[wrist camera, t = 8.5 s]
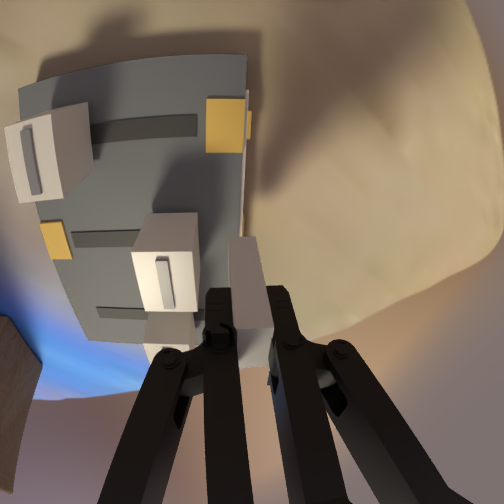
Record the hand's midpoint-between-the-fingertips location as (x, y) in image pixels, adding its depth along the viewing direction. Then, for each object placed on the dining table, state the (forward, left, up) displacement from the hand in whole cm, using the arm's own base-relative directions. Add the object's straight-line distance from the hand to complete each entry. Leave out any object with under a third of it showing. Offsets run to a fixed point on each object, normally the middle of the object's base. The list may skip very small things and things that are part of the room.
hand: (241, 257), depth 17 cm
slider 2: (-4, 0, -2) cm, 4 cm away
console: (-7, 0, -4) cm, 8 cm away
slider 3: (-5, -7, -2) cm, 9 cm away
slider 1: (-10, +7, -2) cm, 12 cm away
